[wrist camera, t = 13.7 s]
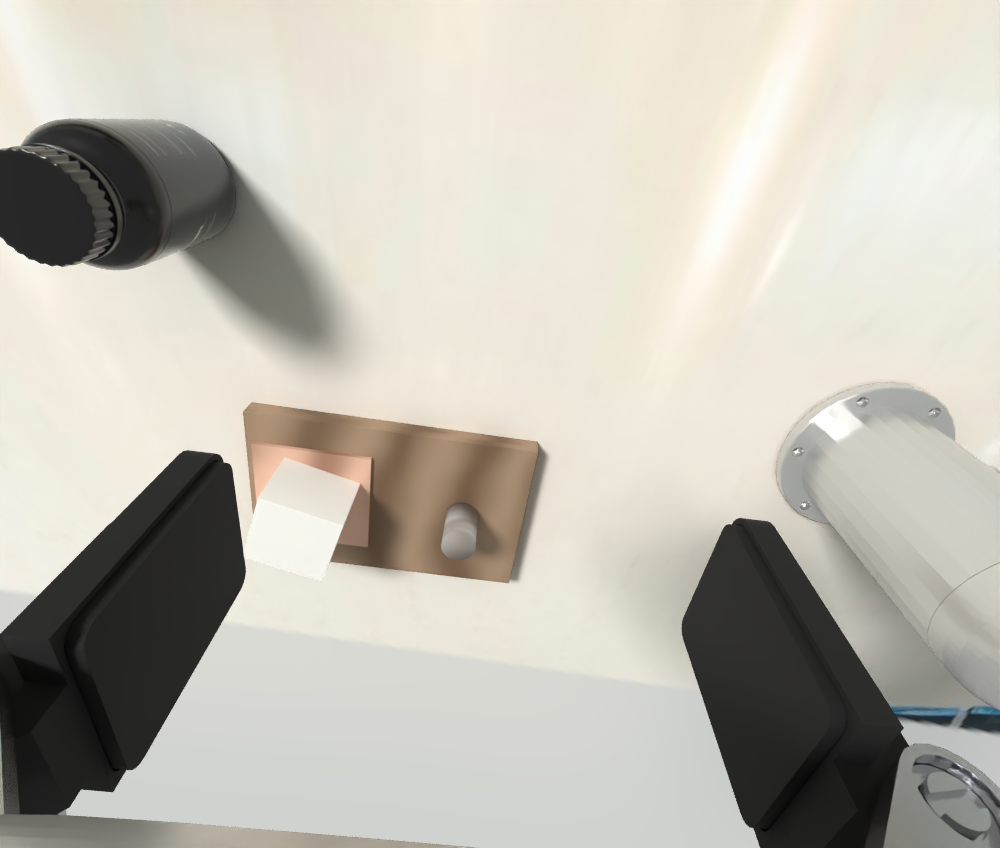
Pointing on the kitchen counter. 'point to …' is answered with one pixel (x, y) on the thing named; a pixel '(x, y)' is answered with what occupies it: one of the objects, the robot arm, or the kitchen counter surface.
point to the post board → (406, 488)
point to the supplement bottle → (112, 192)
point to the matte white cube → (299, 519)
